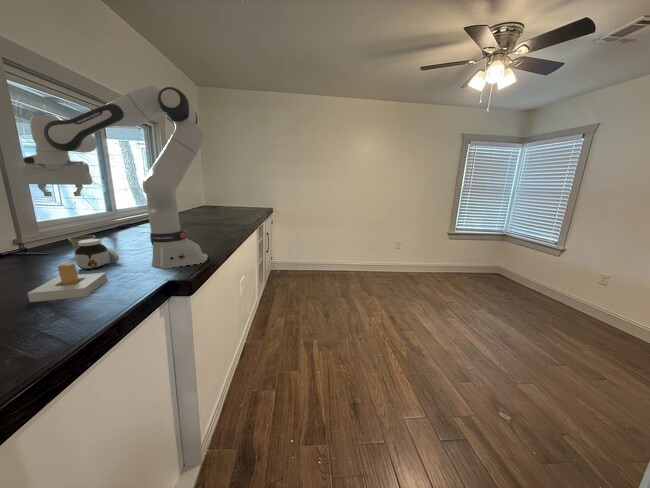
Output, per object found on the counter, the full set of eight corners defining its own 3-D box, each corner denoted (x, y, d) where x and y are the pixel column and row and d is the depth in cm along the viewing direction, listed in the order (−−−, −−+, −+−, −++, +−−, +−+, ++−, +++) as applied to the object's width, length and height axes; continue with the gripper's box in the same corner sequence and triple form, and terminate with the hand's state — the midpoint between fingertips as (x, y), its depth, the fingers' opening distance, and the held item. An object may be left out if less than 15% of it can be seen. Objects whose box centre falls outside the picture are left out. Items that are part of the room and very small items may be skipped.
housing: (107, 280, 95) (105, 272, 95) (86, 296, 82) (84, 287, 82) (59, 284, 91) (57, 276, 90) (30, 302, 78) (27, 293, 77)
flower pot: (77, 253, 126) (73, 236, 124) (101, 251, 130) (98, 234, 128) (68, 258, 118) (64, 240, 116) (94, 256, 122) (90, 238, 120)
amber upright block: (83, 287, 89) (77, 262, 87) (76, 291, 86) (70, 266, 83) (68, 288, 88) (62, 263, 86) (61, 293, 84) (54, 267, 82)
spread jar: (74, 271, 103) (67, 243, 100) (91, 262, 114) (85, 237, 111) (110, 269, 106) (104, 242, 103) (122, 260, 117) (118, 235, 114)
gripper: (91, 161, 106) (98, 195, 109) (27, 159, 100) (36, 195, 103) (83, 160, 100) (90, 196, 104) (14, 158, 94) (24, 197, 97)
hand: (63, 196), depth 103 cm, fingers open, 8 cm apart
